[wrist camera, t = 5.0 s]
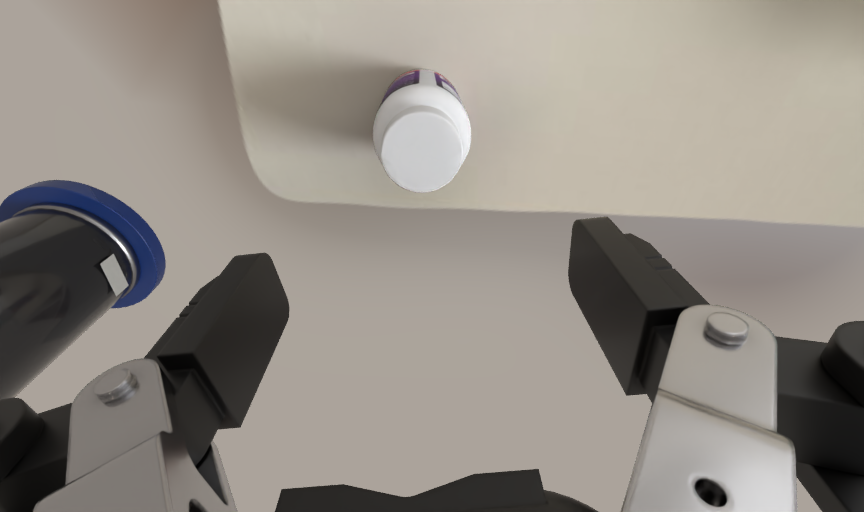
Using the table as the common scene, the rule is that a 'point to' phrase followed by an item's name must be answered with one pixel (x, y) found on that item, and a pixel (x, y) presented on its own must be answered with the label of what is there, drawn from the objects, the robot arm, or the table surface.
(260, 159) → the table surface
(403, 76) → the pill bottle
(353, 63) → the table surface
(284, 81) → the table surface
